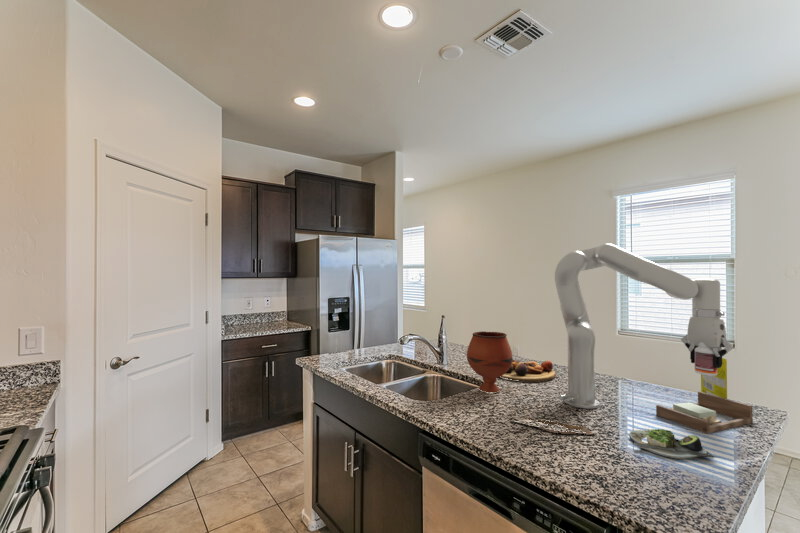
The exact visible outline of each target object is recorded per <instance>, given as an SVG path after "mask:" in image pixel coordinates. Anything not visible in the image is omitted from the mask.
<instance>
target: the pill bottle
mask: <svg viewBox="0 0 800 533" xmlns="http://www.w3.org/2000/svg"><path fill="white" fill-rule="evenodd" d="M714 356H715V353H714V351H713V349H712V348H711V347H707V346H705V344H704V343H701V342H700V343H699V345H698V347H697V348H695V363H694V372H695V373H696V374H699V375H701V374H702V375H709V376H716V375H717V373H718V369H717V368H714V367H713V357H714Z"/></svg>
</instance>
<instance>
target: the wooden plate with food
mask: <svg viewBox="0 0 800 533" xmlns="http://www.w3.org/2000/svg"><path fill="white" fill-rule="evenodd" d="M553 367H554V365H553V363H552V361H551V360H545V361H543V362H542V363H540V364H539V363H538V362H536V361H526V362H524V361H522V362H521V361H518V360H515V359H512V365H511V367H510V368H509V370H508V371H507V372H506V373H505V374H504V375H502V376H501V377H504V378H508V379H512V380H519V381H527V382H526V383H541V381H542V382H548V381H551V380H553V379H554V378H556V371H554V370H553Z"/></svg>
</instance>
